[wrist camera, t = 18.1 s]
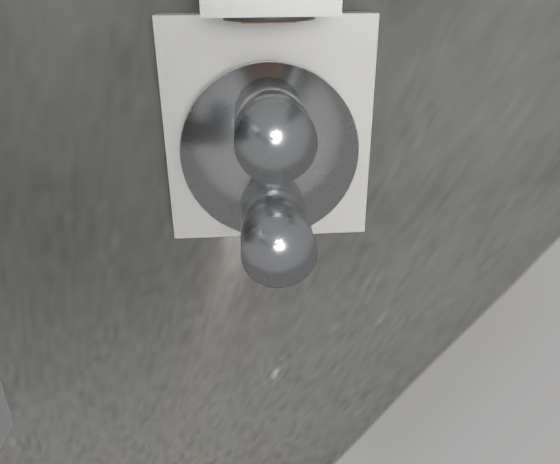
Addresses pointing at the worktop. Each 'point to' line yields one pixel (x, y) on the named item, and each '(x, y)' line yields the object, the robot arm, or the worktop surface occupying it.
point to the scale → (261, 47)
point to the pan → (220, 143)
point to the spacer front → (273, 132)
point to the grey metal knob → (276, 234)
